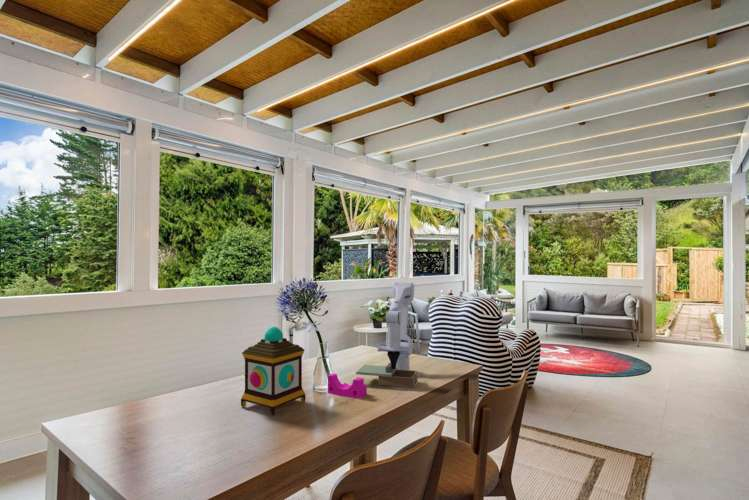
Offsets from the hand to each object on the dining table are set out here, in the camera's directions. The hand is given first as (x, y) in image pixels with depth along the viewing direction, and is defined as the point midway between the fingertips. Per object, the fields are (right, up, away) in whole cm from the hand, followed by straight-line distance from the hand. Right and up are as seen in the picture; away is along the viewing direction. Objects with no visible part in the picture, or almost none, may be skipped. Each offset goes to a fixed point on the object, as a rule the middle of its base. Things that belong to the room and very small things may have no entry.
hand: (393, 368), depth 188 cm
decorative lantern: (-47, -7, -26) cm, 54 cm away
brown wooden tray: (+2, -7, -1) cm, 7 cm away
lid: (-8, -2, +2) cm, 8 cm away
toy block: (-20, -7, -13) cm, 25 cm away
